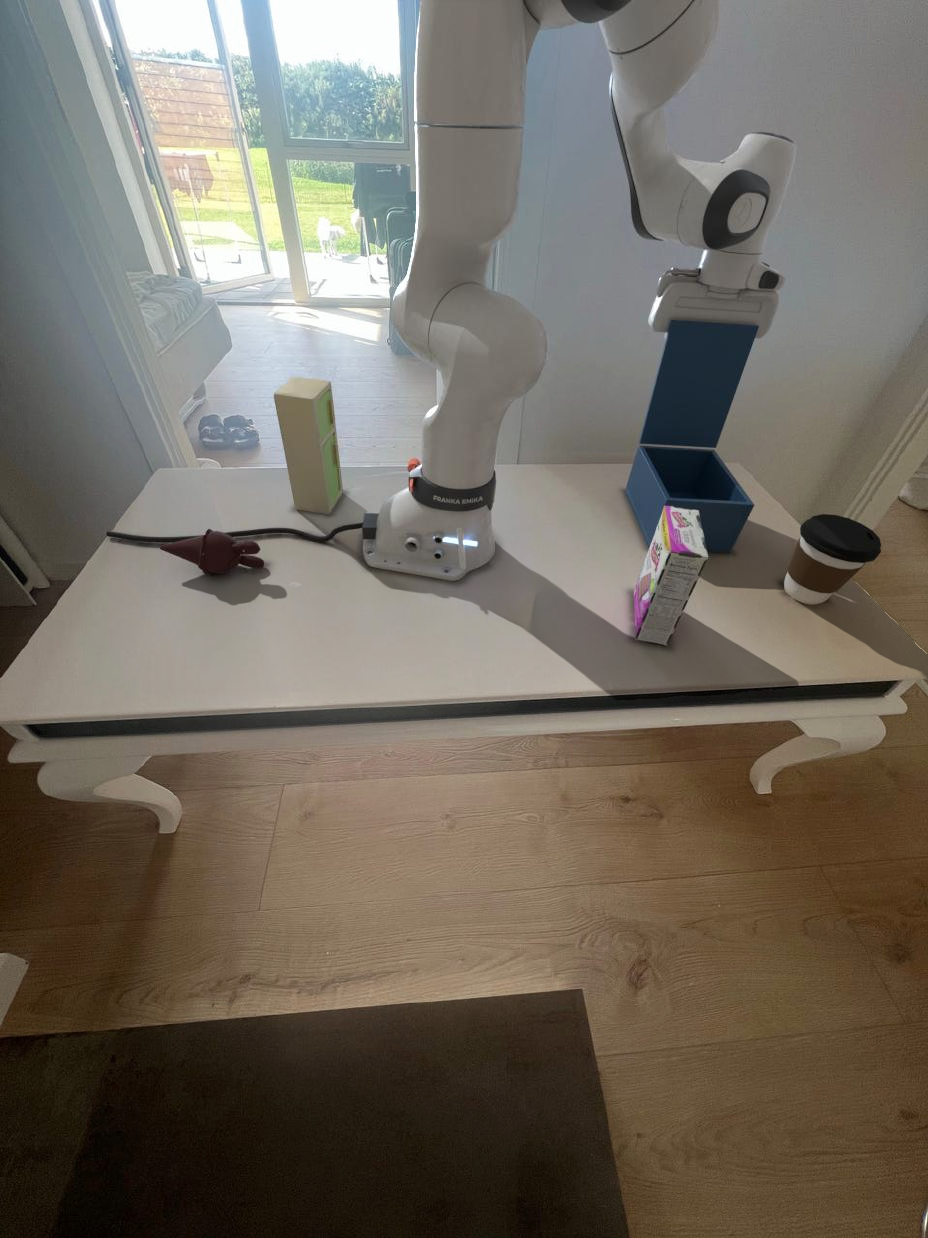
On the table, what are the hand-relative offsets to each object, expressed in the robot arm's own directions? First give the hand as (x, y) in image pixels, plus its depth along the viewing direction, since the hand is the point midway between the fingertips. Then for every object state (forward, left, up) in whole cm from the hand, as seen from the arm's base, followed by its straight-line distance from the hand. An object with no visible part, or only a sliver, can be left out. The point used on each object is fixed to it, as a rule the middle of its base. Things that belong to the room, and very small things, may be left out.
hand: (695, 361), depth 94 cm
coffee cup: (+16, -35, -24) cm, 45 cm away
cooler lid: (0, -4, -3) cm, 5 cm away
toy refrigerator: (-67, -15, -24) cm, 73 cm away
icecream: (-79, -36, -24) cm, 90 cm away
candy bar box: (-12, -43, -24) cm, 51 cm away
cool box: (0, -15, -24) cm, 28 cm away
